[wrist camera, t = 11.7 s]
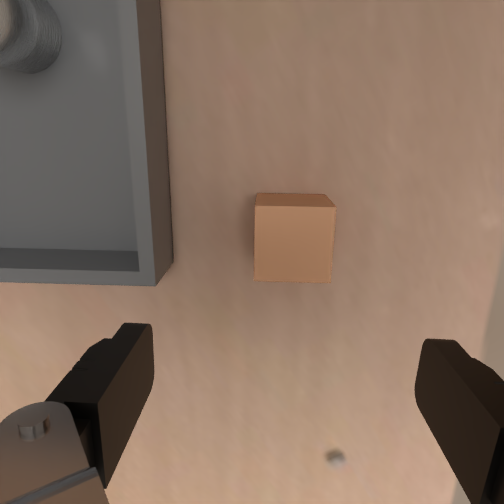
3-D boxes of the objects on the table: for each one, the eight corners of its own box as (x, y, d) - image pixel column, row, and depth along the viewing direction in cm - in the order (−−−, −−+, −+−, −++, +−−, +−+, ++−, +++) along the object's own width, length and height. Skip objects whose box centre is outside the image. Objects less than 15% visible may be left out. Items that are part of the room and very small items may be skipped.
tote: (-137, -116, 23) (-241, -178, 19) (153, -118, 23) (123, -184, 18) (-49, 256, 31) (-107, 279, 26) (173, 261, 30) (155, 286, 25)
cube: (257, 193, 28) (254, 205, 24) (324, 194, 28) (336, 207, 23) (256, 257, 30) (253, 281, 25) (320, 258, 30) (330, 283, 25)
